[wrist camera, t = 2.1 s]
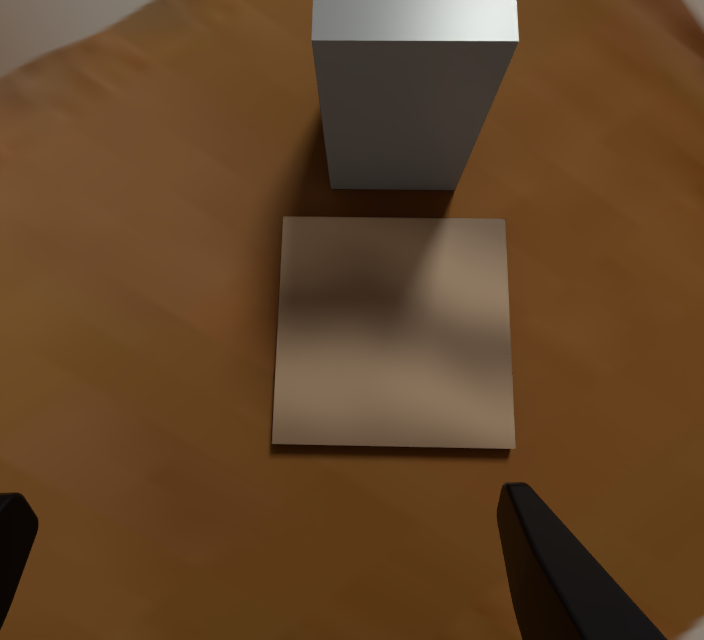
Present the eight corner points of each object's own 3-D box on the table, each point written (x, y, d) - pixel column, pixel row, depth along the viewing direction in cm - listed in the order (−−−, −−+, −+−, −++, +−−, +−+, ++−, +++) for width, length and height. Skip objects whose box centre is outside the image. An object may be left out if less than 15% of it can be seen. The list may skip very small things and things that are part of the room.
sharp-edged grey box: (455, 190, 24) (518, 41, 15) (330, 189, 25) (311, 40, 15) (452, 80, 26) (509, -126, 16) (333, 79, 26) (318, -125, 16)
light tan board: (511, 448, 22) (515, 448, 21) (274, 443, 22) (271, 443, 22) (501, 223, 24) (505, 218, 23) (285, 221, 24) (283, 216, 24)
